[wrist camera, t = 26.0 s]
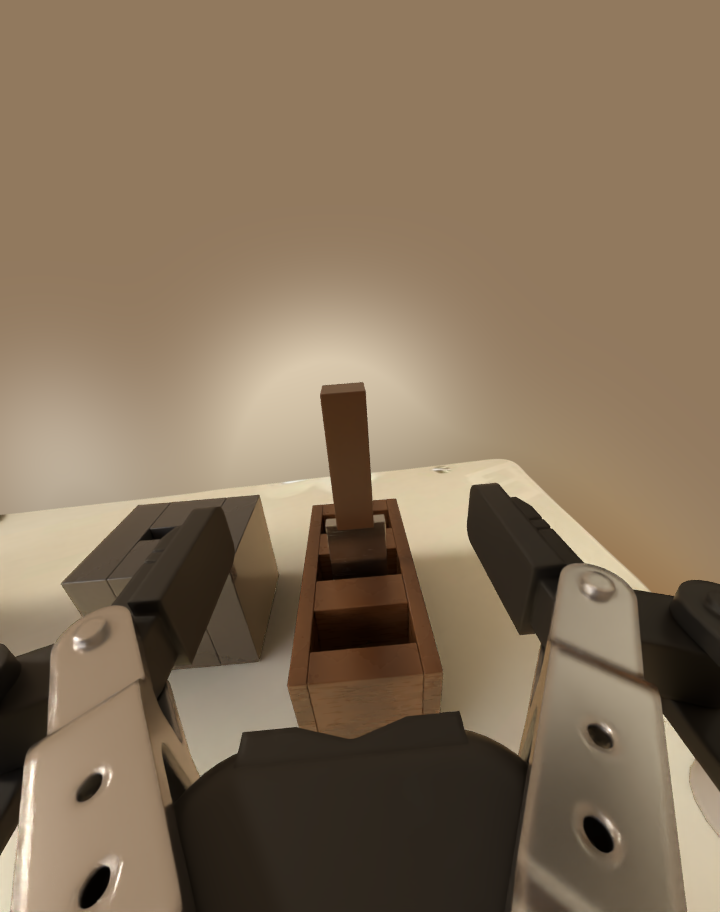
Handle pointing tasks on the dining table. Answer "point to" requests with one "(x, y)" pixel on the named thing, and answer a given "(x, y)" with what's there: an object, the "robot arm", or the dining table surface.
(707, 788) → the chalice
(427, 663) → the knife rack
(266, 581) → the knife block
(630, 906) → the robot arm
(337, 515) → the chef knife
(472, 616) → the dining table surface
